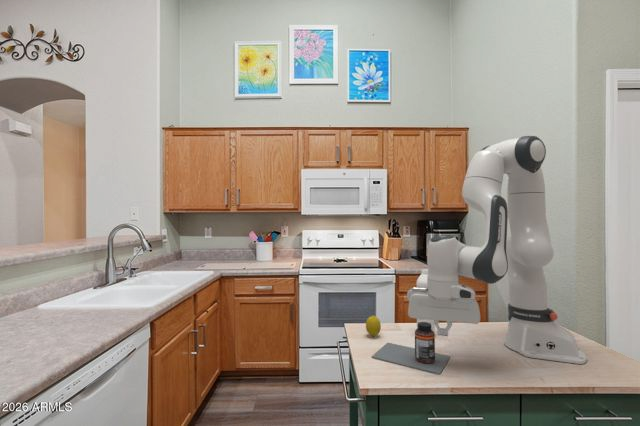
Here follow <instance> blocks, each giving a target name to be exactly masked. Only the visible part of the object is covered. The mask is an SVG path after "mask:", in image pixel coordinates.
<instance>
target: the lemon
mask: <svg viewBox="0 0 640 426" xmlns="http://www.w3.org/2000/svg"><path fill="white" fill-rule="evenodd" d="M381 325H382V324H381V322H380V319H379V318H378V317H377V316H375V315H374V314H373V315H370V316H368V318H367V319H366V321H365V330H366V332H367V334H369V335H370V336H371V337H373V338H374V337H375V336H377V335H379V333H380V331H381V330H382V329H381V327H382V326H381Z"/></svg>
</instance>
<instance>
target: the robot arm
mask: <svg viewBox="0 0 640 426" xmlns="http://www.w3.org/2000/svg"><path fill="white" fill-rule="evenodd" d="M546 148H547V147H546V145H545V143H544V142H543V140H542V139H540V137H538V136H536V135H525V136H524V135H523V136H521V137H516V138H510V139H506V140H503V141H501V142H498V143H494V144H491V145H487V146H485V147H483V148H481V149H480V150H478V151H477V152H476V153H474V155H473V156H472V158H471V160H470V162H469V164H468V168H467V170H466V172H465V173H466V174H465V176H464V181H463V184H462V188H461V197H462V199H463V201H464V202H465V203H466V205H468V206H469V207H470V208H472V209H473V210H475V211H478V212H480V213H482V214H483V215H484V217H485V231H484V232H485V233H484V244H483V245H482V246H472V245H467V244H465V243H463V242H461V241H460V240H458V239H457V238H456V236H454V235H452V234H441V235H436V236H433V237H431V238H430V239H429V241H428V246H427V252H426V256H427V257H426V262H427V263H426V264H427V265H426V266H427V268H428V269H427V270H428V272H429V273H428V276H427V288H417V286H416V287H415V286H414V287H411V288H409V289H408V290H407V291H406V298H407V301H408V310H407V311H408V312H407V314H408V316H409V318H411V319H416V320H417V319H427V320H434V325H435V328H436V329H437V336H444V337H449V331H450V329H451V328H452V326H453V323H462V324H463V323H464V324H474V325H479V323H480V322H481V312H480V306H479V303H478V301H477V300H476V291H475V290H474V289H473V288H472V287H470V286H467V285H465V284H464V285H463V284H461V283H459V277H460V276H461V277H464V278H468V279H469V278H470V279H474V280H477V281H480V282H483V283H485V284H490V285H491V284H492V285H493V284H496V283H497V282H499V281H501V280H502V279H503V278H504V277H505V276H506V274H507V276H508V296H509V297H508V301H509V303H508V304H507V320H508V326H507V332H506V337H505V340H504V346H506V347H507V348H509V349H510V350H513V351H515V352H517V353H520V354H521V355H522V356H524V357H527V358H533V359H540V360H545V361H547V360H548V361H553V362H554V361H555V362H560V363H561V362H562V363H570V364H575V365H584V364H586V363H587V362H588V358H587V354H586V353H585V351H584V350H583V349H581V348H579V347H578V343H577V340H576V338H575V336H574V335H573V334H572V333H571V332H570V331H569V330H568V329H566V328H565V326H563V325H561V324H560V323H559V322H557V321H556V320H558V314H557V313H556V312H555V311H554V309H550V308H549V307H548V285H547V284H548V283H547V281H546V278H545V273H544V267H546V266H547V265H549V264H550V263H551V262H552V260H553V258H554V248H553V246H552V241H551V236H550V230H549V226H548V221H547V214H546V213H547V212H546V209H547V208H546V207H547V206H546V186H545V179H544V173H543V170H542V165H543V163H544V161H545V159H546V155H547V150H546ZM504 175H507V177H508V179H507V188H506V189H507V193H506V195H507V201H506V199H505V198H504V197H503V196H502V185H503V181H504ZM508 223H509V228H510V235H511V236H510V237H509V238H508V237H507V236H508ZM440 321H441V322H446V327H445V328H444V327H443V328H442V327H440V325H439V324H440Z"/></svg>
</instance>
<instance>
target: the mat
mask: <svg viewBox="0 0 640 426" xmlns="http://www.w3.org/2000/svg"><path fill="white" fill-rule="evenodd" d="M371 359H375V360H378V361H379V360H380V361H383V362H387V363H390V364H395V365H398V366H402V367H406V368H410V369H411V368H412V369H415V370H418V371H422V372H427V373H431V374H435V375H439V376H440V375H441V374H442V372H443V371H444V369H445V367H446V366H447V364H448V362H449V360H450V359H451V355H447V354H444V353H443V354H442V353H439V352H435V361H434V362H433V363H428V364H425V363H421V362H419V361H417V360H416V358H415V347H411V346H406V345H402V344H396V343H392V342H386V343H385V344H384V345H383V346H382V347H381V348H380V349H378V350H377V351H376V352H375V353H374V354H372V355H371Z"/></svg>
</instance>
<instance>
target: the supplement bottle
mask: <svg viewBox="0 0 640 426" xmlns="http://www.w3.org/2000/svg"><path fill="white" fill-rule="evenodd" d="M414 348H415V358H416V360H417V361H419V362H421V363H425V364H428V363H433V362H434V361H435V353H436V333H435V334H434V332H433V331H432V329H431V324H430V323H428V322H419V323H418V329H417V328H416V329H415V330H414Z"/></svg>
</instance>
